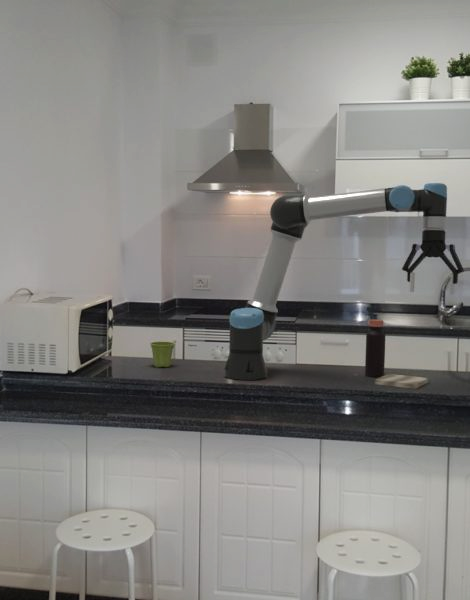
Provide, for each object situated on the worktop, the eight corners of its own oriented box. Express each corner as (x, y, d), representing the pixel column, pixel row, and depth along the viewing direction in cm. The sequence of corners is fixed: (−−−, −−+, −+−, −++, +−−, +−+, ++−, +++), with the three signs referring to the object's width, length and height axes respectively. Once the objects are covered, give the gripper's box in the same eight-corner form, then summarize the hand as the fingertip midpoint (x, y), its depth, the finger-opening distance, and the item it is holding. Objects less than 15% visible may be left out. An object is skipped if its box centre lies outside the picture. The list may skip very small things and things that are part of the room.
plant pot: (179, 365, 267) (180, 343, 266) (164, 369, 259) (164, 345, 258) (160, 363, 272) (160, 340, 271) (144, 366, 264) (144, 343, 263)
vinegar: (363, 376, 251) (365, 320, 250) (366, 373, 258) (368, 318, 256) (382, 378, 249) (384, 321, 248) (385, 375, 255) (387, 319, 254)
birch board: (374, 384, 237) (374, 379, 237) (388, 378, 249) (388, 373, 249) (416, 388, 230) (416, 384, 230) (428, 382, 242) (428, 378, 242)
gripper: (474, 230, 235) (471, 293, 237) (401, 230, 248) (399, 290, 250) (469, 229, 229) (466, 294, 231) (394, 229, 242) (392, 291, 243)
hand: (431, 292), depth 240 cm, fingers open, 13 cm apart
